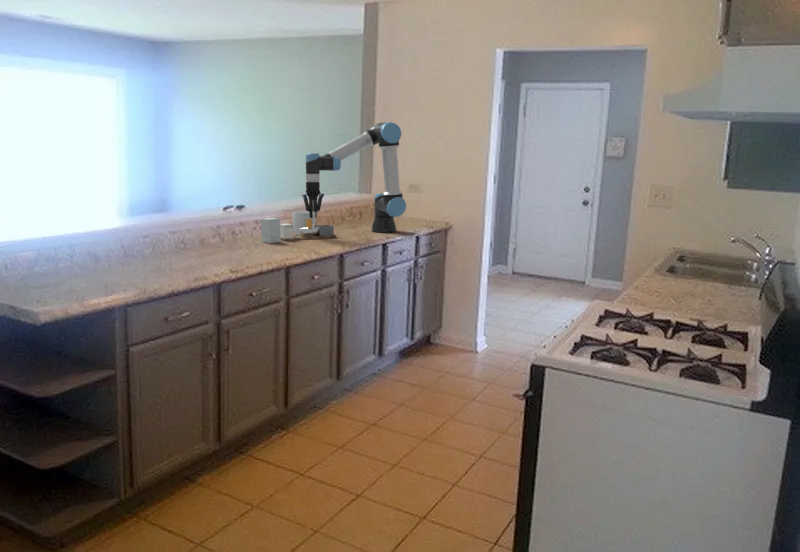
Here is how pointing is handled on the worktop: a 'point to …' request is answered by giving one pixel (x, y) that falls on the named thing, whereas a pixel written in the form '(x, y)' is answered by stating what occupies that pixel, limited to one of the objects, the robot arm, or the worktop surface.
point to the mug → (300, 220)
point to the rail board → (307, 237)
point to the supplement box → (270, 230)
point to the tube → (308, 229)
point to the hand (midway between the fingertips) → (313, 223)
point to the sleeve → (325, 230)
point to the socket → (286, 231)
